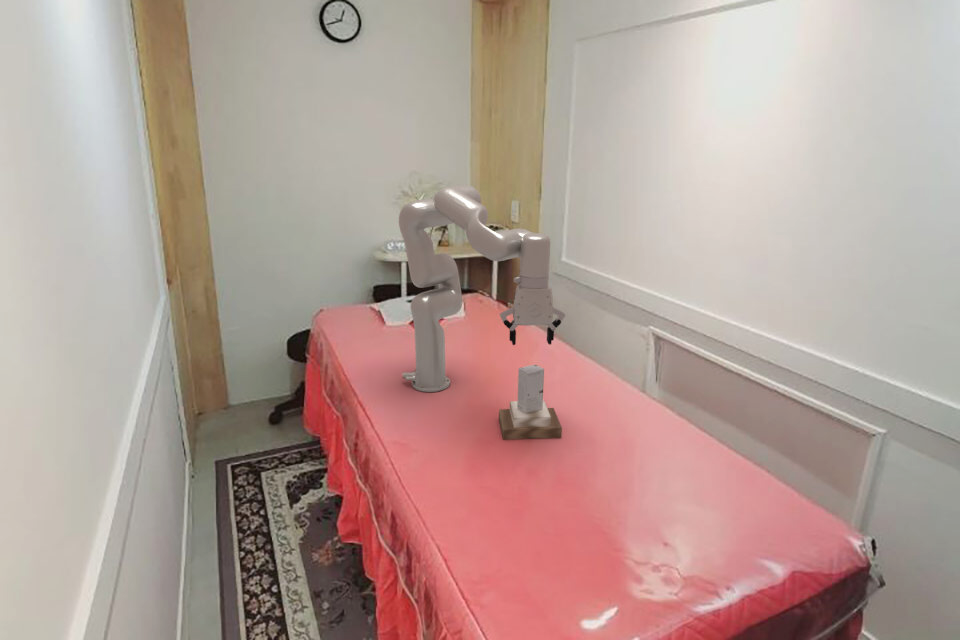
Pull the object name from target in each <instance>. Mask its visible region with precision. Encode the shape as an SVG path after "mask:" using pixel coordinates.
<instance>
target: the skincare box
mask: <svg viewBox="0 0 960 640" xmlns="http://www.w3.org/2000/svg"><path fill="white" fill-rule="evenodd" d="M517 379H518V380H517V401H518V403H517V408H518V409H520V410H521V411H522V412H524V413H529V412H534V411H537V410H541V409H542V408H543V400H544V387H545V386H544V382H545V368H543V367H541V366H539V365H537V364H532V365H527V366H523V367H519V368H518V376H517Z"/></svg>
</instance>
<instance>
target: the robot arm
mask: <svg viewBox="0 0 960 640" xmlns="http://www.w3.org/2000/svg"><path fill="white" fill-rule="evenodd" d="M488 218H489V212H488V209H487V207H486V206H485V205H483V204H482V198H481V194H480V192H479V191H478V189H476V188H475V187H474V186H472V185H468V184H464V185H463V184H462V185H452V186H445V187H443V188H440V189H439V190H437V192H435V194H434V196H433V198H425V199H424V198H423V199H417V200H413V201H409V202H407V203H406V204H405V205H403V207H401V210H400V212H399V214H398V227H399V230H400V233H401V236H402V239H403V242H404V245H405V251H406V257H407V263H408V270H409V275H410V281H411V282H412V283H413V285H414V286H415V287H417V288H423V289H424V288H429V287H433V286H437V287H438V288H436V289H431V290H427V291H423V292H420V293H418V294H416V295H415V296H414V297H412V298H413V299H411V301H410V312H411V313H410V314H411V316H412V321H413V326H414V327H413V328H414V343H415V345H414V347H415V348H414V349H415V350H414V351H415V370H414V371H412V372H402V379H405V381H406V382H407V381H411V386H412V388H414V389H415V390H417V391H419V392H423V393H435V392H440V391H444V390H446V389H447V388H449V386H450V385H451V379H450V378H449V377H448V376H446V340H445V339H446V337H445V331H444V328H443V327H442V325H441V323H440V320H442V319H443V318H447V317H448V318H449V317H452V316H454V315H457V314H458V313H459V312H460V311H461V310H462V306H463V294H462V289H461V281H460V274H459V269H458V268H459V267H458V265H457V263H456V261H455V259H454V258H453V256H452V255H450V254H448V253H445V252H444V253H443V252H442V253H441V252H440V253H435V249H434V242H433V239H432V237H431V236H430V235H429V234H428V232H427V231H426V230H425V229H429V228H437V227H444V226H448V225H452V224H454V225H456V226H458V228H460V229H461V230H463V231H465V234H466V235H465V236H466V238H467V240H468V243H469V244H470V246H471V247H472V249H473V250H475V251H476V252H478V253H479V254H480V255H481V256H483V257H484V258H486V259H488V260H490V261H492V262H501V261H502V262H503V261H507V260H510V259H517V258H519V274H518V276H517V277H513V283H516V284H518V285H517V286H516V288H515V292H514V299H513V300H514V301H513V306H512V307H510V308H508V309H506V310H504V311H502V312H500V313H499V316H500V319H501V320H502V322H503V325H504V326H505V327H506V328H508V330H509V341H510V342H511V344H512V346H515V345H516V344H517V340H516V339H517V331H516V328H517V327H519V326H527V327H528V326H548V327H547V328H546V342H547V344H548V345H552V341H554V337H555V336H554V335H555V331H556V328H558V327H559V326H560V325H561V324H562V321H563V320H564V318H566V314H565V312H563V311H562V310H560V309H557V308H556V307H554V306H553V305H554V304H553V291H552V287H551V286H550V285H549V275H550V257H551V238H550V237H549V235H547V234H545V233H542V232H532V231H529V230H528V229H524V228H519V227H518V228H513V229H505V230H499V231H494V230H492V229H491V228H489V227H487V226H486V224H487V222H488ZM511 315H512V320H511V321H509V320H508V317H509V316H511ZM554 315H556V316H557V318H555V320H554V319H553V318H554Z"/></svg>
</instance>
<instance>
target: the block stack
mask: <svg viewBox="0 0 960 640" xmlns="http://www.w3.org/2000/svg"><path fill="white" fill-rule="evenodd" d="M517 403H518V400H512V401H511V400H510V401H509V408H504V409H503V408H501V409H498V420H499V426H500V431H501V435H502V439H503V440H531V439H562V434H563V433H562V432H563V431H562V430H563V428H562V427H563V426H562V425H561V423H560V420H559V418H558V415H557V413H556V411H555V408H554V407H548V406H547V403H546V402H545V400H544V399H543V408H542V409H541V410H537V411H534V412H529V413H524V412H522V411H521V410H520V409H518V408H517Z"/></svg>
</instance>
